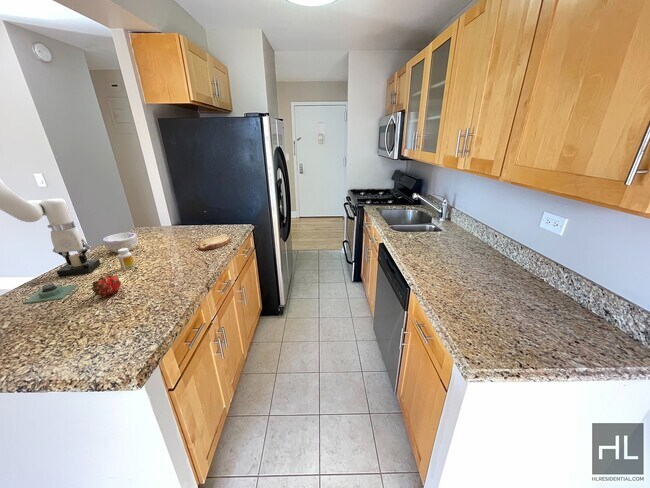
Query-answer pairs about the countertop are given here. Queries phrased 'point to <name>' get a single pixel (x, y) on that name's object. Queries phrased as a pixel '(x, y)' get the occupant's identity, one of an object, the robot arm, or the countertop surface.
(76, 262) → the knob
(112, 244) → the paper bowls
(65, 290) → the button box
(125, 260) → the supplement bottle
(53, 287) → the button
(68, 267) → the panel
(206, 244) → the bread slice
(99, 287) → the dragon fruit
